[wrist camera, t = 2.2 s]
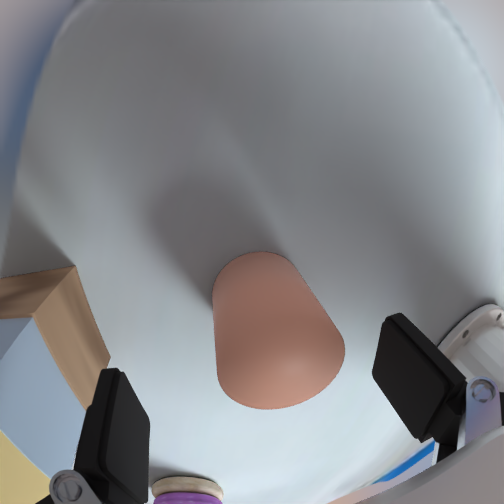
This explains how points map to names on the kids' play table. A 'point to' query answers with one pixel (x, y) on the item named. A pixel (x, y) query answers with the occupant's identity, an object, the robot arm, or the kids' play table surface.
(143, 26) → the kids' play table surface
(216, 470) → the kids' play table surface
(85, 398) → the tower base
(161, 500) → the stacking toy
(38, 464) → the tower mid
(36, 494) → the tower top
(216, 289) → the cylinder
